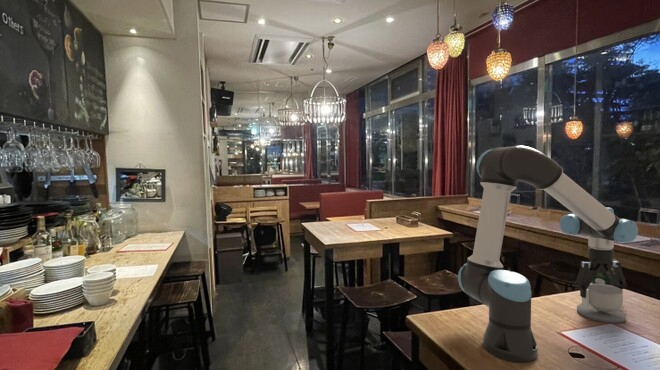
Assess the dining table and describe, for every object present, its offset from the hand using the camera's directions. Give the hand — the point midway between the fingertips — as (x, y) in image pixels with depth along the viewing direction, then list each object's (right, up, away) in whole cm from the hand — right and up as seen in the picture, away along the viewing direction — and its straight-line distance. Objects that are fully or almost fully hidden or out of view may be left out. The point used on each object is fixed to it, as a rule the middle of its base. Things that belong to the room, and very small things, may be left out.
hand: (600, 305), depth 129 cm
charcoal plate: (0, -4, 0) cm, 4 cm away
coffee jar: (+13, -3, +14) cm, 20 cm away
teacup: (0, -1, 0) cm, 1 cm away
